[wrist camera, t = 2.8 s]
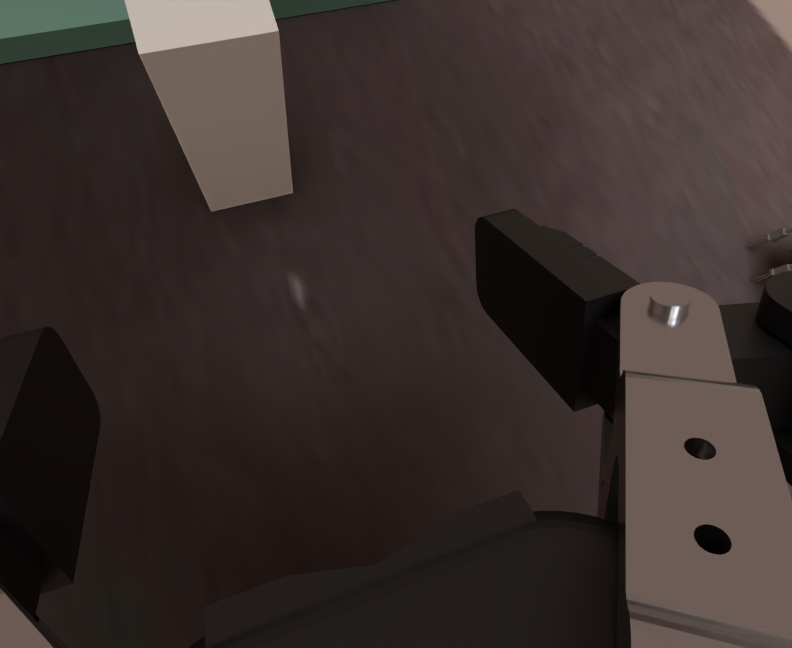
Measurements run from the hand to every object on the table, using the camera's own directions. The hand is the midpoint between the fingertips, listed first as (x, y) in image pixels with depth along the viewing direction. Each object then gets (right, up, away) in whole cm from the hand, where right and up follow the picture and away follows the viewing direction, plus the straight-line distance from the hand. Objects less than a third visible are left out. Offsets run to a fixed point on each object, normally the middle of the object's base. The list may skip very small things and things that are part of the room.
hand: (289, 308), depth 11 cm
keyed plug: (-5, +8, +16) cm, 19 cm away
